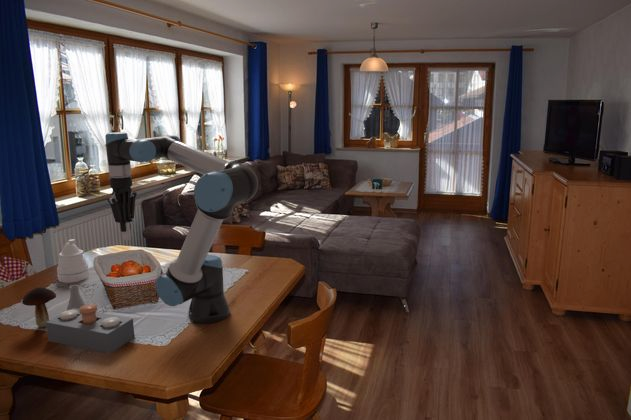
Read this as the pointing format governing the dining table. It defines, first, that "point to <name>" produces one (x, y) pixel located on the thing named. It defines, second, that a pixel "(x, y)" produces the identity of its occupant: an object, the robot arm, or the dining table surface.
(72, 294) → the flask
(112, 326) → the near knob
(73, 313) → the far knob
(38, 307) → the decorative mushroom
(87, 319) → the middle knob
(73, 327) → the grey rectangular block
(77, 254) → the honey pot
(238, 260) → the dining table surface
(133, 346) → the dining table surface
